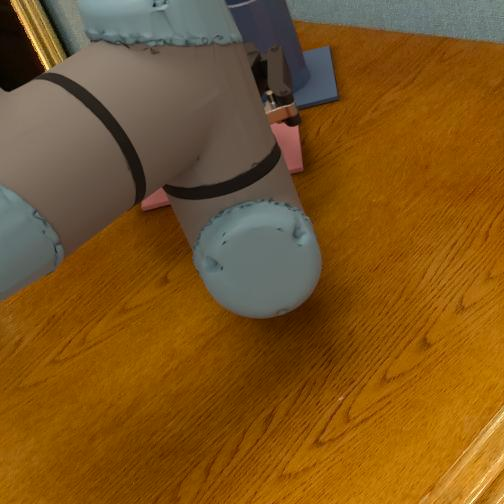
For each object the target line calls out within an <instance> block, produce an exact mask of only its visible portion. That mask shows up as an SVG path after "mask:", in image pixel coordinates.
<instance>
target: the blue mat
mask: <svg viewBox="0 0 504 504" xmlns="http://www.w3.org/2000/svg"><path fill="white" fill-rule="evenodd" d="M303 53H304V56H305V59H306V62H307V65H308V69H309V73H310V79H309V81H308V83H307V84H306V85H305V86H304V87H303V88H301V89H300V90H298V91H297V92H295V93H293V96H294V99H295V102H296V105H297V108H298V111H299V110H304V109H306V108H311V107H315V106H319V105H323V104H327V103H331V102H336V101H338V100H340V98H339V93H338V92H339V91H338V87H337V81H336V74H335V70H334V69H335V68H334V64H333V63H334V62H333V57H332V51H331V47H330V45H325V46H322V47H318V48H314V49H309V50H305V51H303ZM265 103H266V102H265ZM265 103H263V106H264V107H265Z"/></svg>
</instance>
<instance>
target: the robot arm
mask: <svg viewBox="0 0 504 504" xmlns="http://www.w3.org/2000/svg"><path fill="white" fill-rule="evenodd" d="M77 10H78V13H79V15H80V18H81V21H82V24H83V26H84V27H83V33H84V34H85V36H86V38H87V40H89V41H90V44H88V45H87V46H85V47H83V48H82V49H79V50H78V51H77V52H75V53H74V54H72V55H70V56H68V57H67V58H66V59H64V60H62V61H60V62H59V63H56V64H55V65H54V66H52V67H51V68H49V69H47V70H45V71H44V72H43V73H41V74H39V75H37V76H35V77H34V78H32V79H31V80H29V81H27V82H26V83H25V84H23V85H21V86H19V87H17V88H15V89H12V90H11V91H5V90H4V89H3V88H2V87H0V303H2V302H4V301H6V300H7V299H8V298H10V297H12V296H14V295H15V294H17V293H19V292H20V291H22V290H24V289H26V288H27V287H29V286H31V285H32V284H34V283H36V282H37V281H39V280H41V279H42V278H44V277H46V276H48V275H50V274H53V273H54V272H56V271H57V270H58V269H59V267H60V265H61V263H62V262H63V261H64V260H65V259H67V258H68V257H69V256H71V255H72V254H73V253H74V252H76V251H77V250H78V249H79V248H81V247H82V246H84V245H85V244H86V243H87V242H89V241H90V240H91V239H93V238H94V237H95V236H96V235H98V234H99V233H101V232H102V231H103V230H104V229H106V228H107V227H109V226H110V225H111V224H112V223H114V222H115V221H116V220H118V219H119V218H120V217H122V216H123V215H124V214H125V213H127V212H129V211H131V210H132V209H133V208H135V207H136V206H137V205H139V204H142V201H143V200H145V199H146V198H147V197H149V196H150V195H152V194H153V193H154V192H156V191H157V190H158V189H160V188H161V187H162V188H163V190H164V191H165V193H166V196H167V198H168V200H169V202H170V206H171V208H172V210H173V212H174V215H175V217H176V219H177V221H178V223H179V225H180V227H181V229H182V232H183V233H184V235H185V239H186V240H187V242H188V245H189V247H190V249H191V252H192V254H193V255H192V256H191V258H192V262H193V265H194V267H195V270H196V271H197V273H198V275H199V278H200V279H201V280H202V282H203V284H204V286H205V288H206V290H207V292H208V293H209V294H210V296H211V297H212V298H213V299H214V300H215V302H216V303H217V304H219V305H220V306H221V307H222V308H224V309H225V310H226V311H229V312H231V313H232V314H235V315H237V316H241V317H244V318H249V319H261V320H263V319H271V318H277V317H280V316H284V315H286V314H288V313H291V312H292V311H294V310H296V309H298V307H300V306H302V305H303V304H304V303H305V302H306V301H307V300H308V299H309V298H310V297H311V295H312V294H313V293H314V291H315V289H316V287H317V286H318V283H319V281H320V278H321V274H322V269H323V268H322V267H323V258H322V252H321V248H320V245H319V240H318V238H319V237H318V234H317V233H316V232H315V227H314V224H313V222H312V221H311V219H310V217H309V216H308V215H307V214H306V212H305V210H304V208H303V207H304V206H303V204H302V202H301V199H300V196H299V194H298V191H297V188H296V186H295V183H294V180H293V178H292V174H290V172H289V169H288V167H287V164H286V161H285V158H284V156H283V153H282V150H281V148H280V146H279V145H278V143H277V140H276V137H275V135H274V133H273V132H272V129H271V126H270V125H271V124H274V123H277V124H282V123H283V122H284V123H285V124H286V125H287V126H289V127H295V126H297V125H299V126H300V125H301V124H302V122H303V120H302V117H301V114H300V111H299V110H298V108H297V105H296V102H295V99H294V96H293V89H292V76H291V73H290V70H289V67H288V64H287V61H286V58H285V55H284V52H283V49H282V46H280V45H274V46H272V47H270V48H269V49H268V50H267V54H260V52H259V50H257V48H256V46H255V44H254V43H253V42H248V43H244V44H242V41H243V39H242V36H241V34H240V32H239V31H238V28H237V26H236V24H235V21H234V19H233V17H232V15H231V12H230V10H229V8H228V5H227V3H226V0H77ZM264 91H267V92H266V96H267V98H268V101H266V103H265V107H264V106H263V103H262V100H261V98H262V96H263V93H264Z"/></svg>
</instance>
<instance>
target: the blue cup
mask: <svg viewBox="0 0 504 504" xmlns="http://www.w3.org/2000/svg"><path fill="white" fill-rule="evenodd" d="M226 3H227V5H228V8H229V10H230V12H231V15H232V17H233V19H234V21H235V24H236V26H237V28H238V31H239V32H240V34H241V36H242V39H243V41H242V44H244V43H248V42H253V43H254V44H255V46H256V48H257V50H259V52H260V54H267V50H268V49H269V48H270V47H272V46H274V45H280V46H282V49H283V52H284V55H285V58H286V61H287V64H288V67H289V70H290V73H291V76H292V89H293V93H295V92H297V91H298V90H300V89H301V88H303V87H304V86H305V85H306V84H307V83H308V81H309V79H310V73H309V69H308V65H307V62H306V59H305V56H304V53H303V52H304V50H303V47H302V43H301V41H300V38H299V35H298V32H297V29H296V28H297V27H296V25H295V23H294V19H293V16H292V12H291V9H290V7H289V4H288V0H226ZM266 92H267V91H264V93H263V96H262V98H261V100H262V103H265V102H266V101H268V98H267V96H266Z"/></svg>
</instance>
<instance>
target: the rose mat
mask: <svg viewBox="0 0 504 504" xmlns="http://www.w3.org/2000/svg"><path fill="white" fill-rule="evenodd" d="M270 126H271V129H272V132H273V133H274V135H275V137H276V140H277V143H278V145H279V146H280V148H281V150H282V153H283V156H284V158H285V161H286V164H287V167H288V169H289V172H290V175H293V174H298V173H301V172H304V163H303V153H302V144H301V133H300V124H299V125H297V126H295V127H289V126H287V125H286V124H285V123H284V122H283V123H282V124H277V123H274V124H271V125H270ZM169 205H170V206H171V204H170V202H169V200H168V198H167V196H166V193H165V191H164V190H163V188H162V187H161V188H160V189H158V190H157V191H156V192H154V193H153V194H152V195H150V196H149V197H147V198H146V199H145V200H143V201H142V202H141V205H140V208H141V210H142V211H143V212H145V211H149V210H154V209H158V208H161V207H165V206H169Z"/></svg>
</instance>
